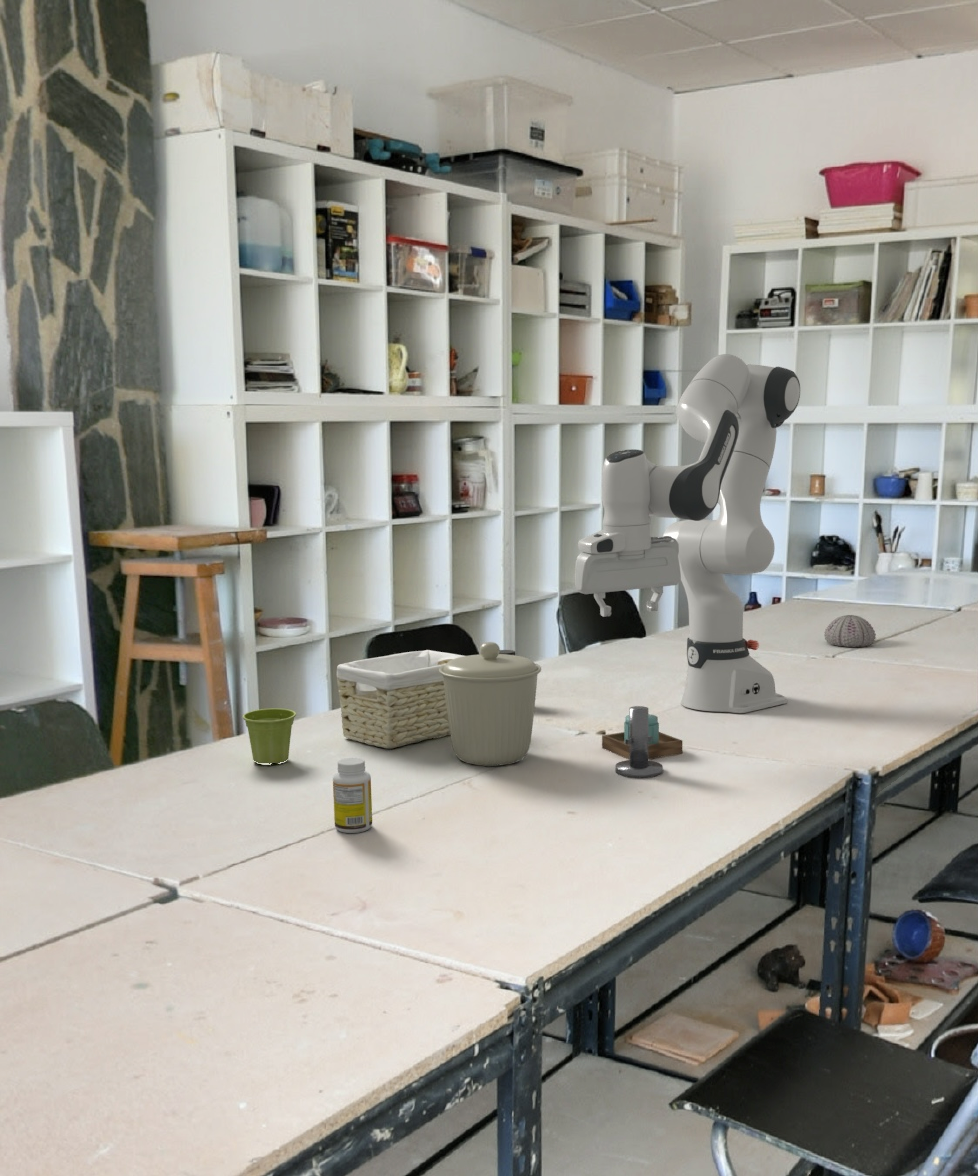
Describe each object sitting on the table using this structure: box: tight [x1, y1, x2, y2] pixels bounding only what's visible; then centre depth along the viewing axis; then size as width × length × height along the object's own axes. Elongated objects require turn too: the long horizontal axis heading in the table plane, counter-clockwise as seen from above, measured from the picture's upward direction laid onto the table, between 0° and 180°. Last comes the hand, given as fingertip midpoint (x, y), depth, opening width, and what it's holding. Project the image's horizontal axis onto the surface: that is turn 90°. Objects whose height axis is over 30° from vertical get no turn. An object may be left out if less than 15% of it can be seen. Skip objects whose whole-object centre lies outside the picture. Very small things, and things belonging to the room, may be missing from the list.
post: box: [614, 705, 664, 779], centre depth 203 cm, size 8×8×11 cm
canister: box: [439, 641, 542, 767], centre depth 212 cm, size 18×18×21 cm
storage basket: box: [336, 649, 465, 749], centre depth 231 cm, size 24×16×15 cm
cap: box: [623, 713, 660, 745], centre depth 217 cm, size 6×6×5 cm
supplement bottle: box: [332, 757, 373, 834], centre depth 176 cm, size 6×6×10 cm
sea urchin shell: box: [823, 614, 877, 648], centre depth 321 cm, size 13×14×8 cm
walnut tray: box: [601, 731, 683, 760], centre depth 217 cm, size 10×10×2 cm
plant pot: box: [242, 708, 297, 764], centre depth 214 cm, size 9×9×9 cm
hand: (629, 613), depth 222 cm, fingers open, 8 cm apart
